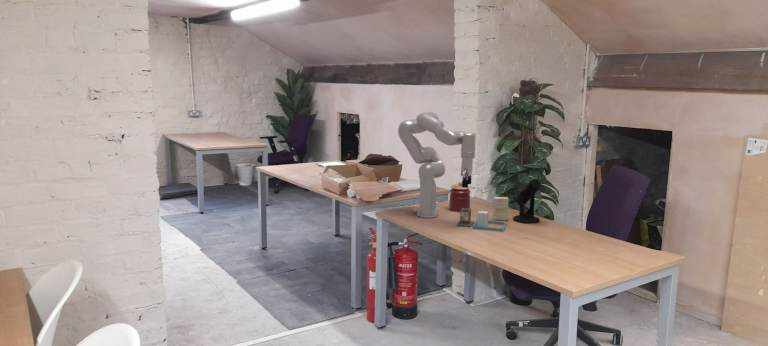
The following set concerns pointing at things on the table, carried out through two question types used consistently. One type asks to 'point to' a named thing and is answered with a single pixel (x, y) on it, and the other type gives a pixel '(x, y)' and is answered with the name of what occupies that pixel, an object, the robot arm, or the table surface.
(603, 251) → the table surface
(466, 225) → the mat
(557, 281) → the table surface
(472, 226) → the tray
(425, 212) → the robot arm
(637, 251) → the table surface
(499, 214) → the supplement box
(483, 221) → the grey block
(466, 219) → the walnut block
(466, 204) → the canister
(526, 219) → the microphone
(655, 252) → the table surface
